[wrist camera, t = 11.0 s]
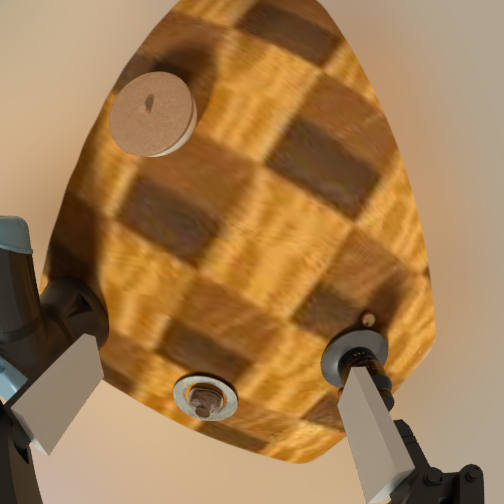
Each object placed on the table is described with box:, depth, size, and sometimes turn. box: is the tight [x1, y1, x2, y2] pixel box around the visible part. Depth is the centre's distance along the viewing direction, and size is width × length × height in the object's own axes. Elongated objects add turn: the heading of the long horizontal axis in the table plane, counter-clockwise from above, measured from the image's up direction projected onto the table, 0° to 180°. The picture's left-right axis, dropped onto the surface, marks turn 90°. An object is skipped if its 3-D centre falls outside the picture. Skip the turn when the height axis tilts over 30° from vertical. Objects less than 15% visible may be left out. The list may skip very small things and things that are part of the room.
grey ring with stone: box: [173, 376, 238, 421], centre depth 43 cm, size 12×12×5 cm
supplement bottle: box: [337, 347, 394, 412], centre depth 35 cm, size 7×7×12 cm
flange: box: [321, 311, 388, 399], centre depth 41 cm, size 12×18×2 cm, turn 175°
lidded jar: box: [109, 71, 197, 157], centre depth 30 cm, size 11×11×9 cm
